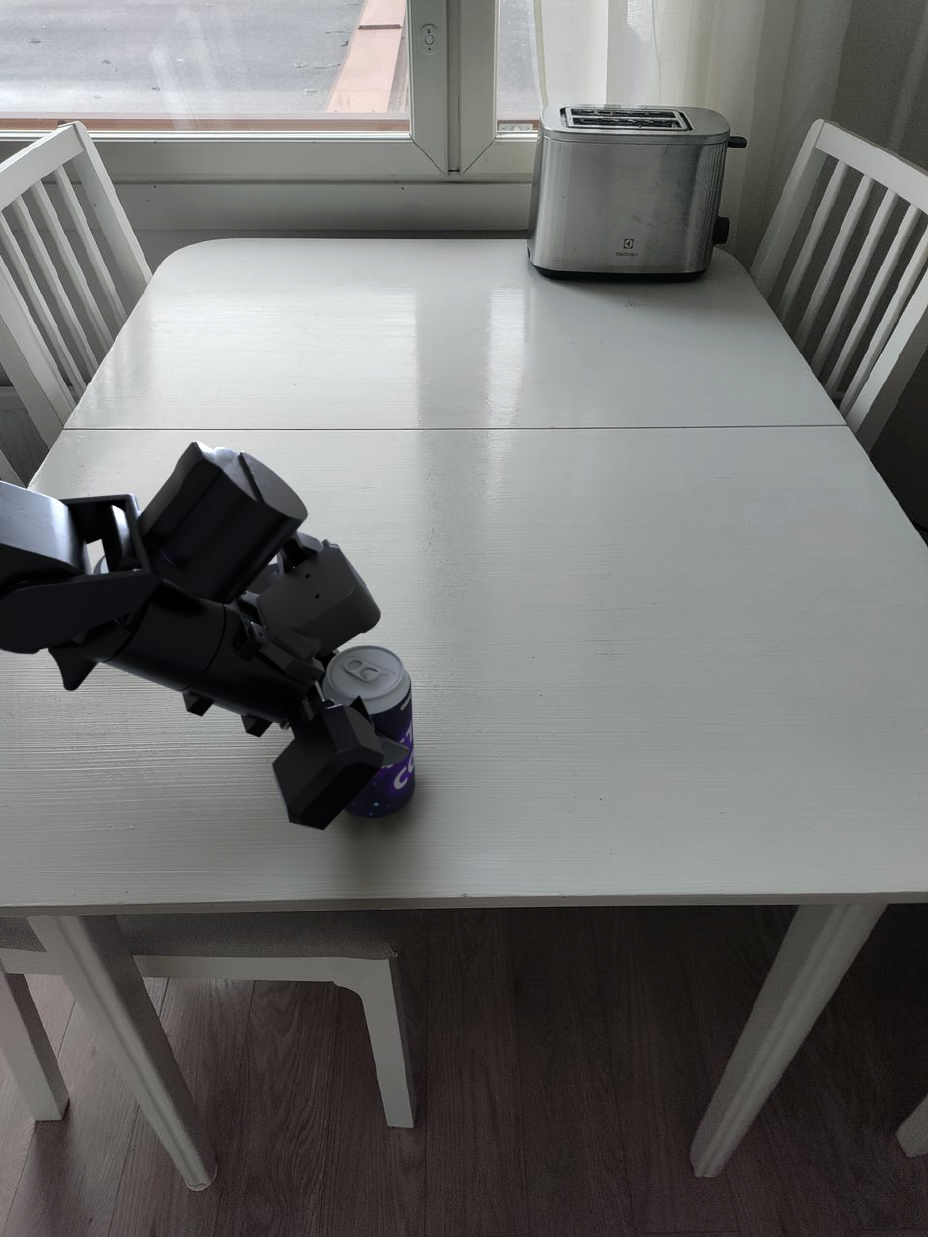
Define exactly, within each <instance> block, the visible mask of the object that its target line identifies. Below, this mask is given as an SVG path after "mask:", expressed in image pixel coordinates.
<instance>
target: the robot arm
mask: <svg viewBox="0 0 928 1237" xmlns="http://www.w3.org/2000/svg"><path fill="white" fill-rule="evenodd" d="M308 516H309V512H308V509H307V506H306V505H305V502H303V500H302V499H301V497H300V496H299V495H298V494H297V492H295V491H294V489H293V488H292V487H291V486H290V485H289V484H288V483H287V482H286V481H285V480H284V479H283V478H282V477H280V476H279V475H278V474H277V473H276V472H275V471H274V470H272V468H270V467H268V466H267V465H266V464H264V463H263V462H261V461H260V460H259V459H257V458H256V457H254V456H253V455H251V454H249V453H247V452H246V451H245V450H241V451H239V452H238V451H235V450H233V449H231V448H227V447H223V446H217V447H216V448H215V449H212V448H210V447H208V446H207V445H205V444H203V443H202V442H200V441H198V440H196V441H195V440H194V441H191V442H190V443H189V445H188V446H187V447H186V449H185V450H184V451H183V452H182V454H181V455H180V457H179V458H178V460H177V462H176V464H175V466H174V469H173V470H172V473H171V474H170V476H169V477H168V479H166V481H165V482H164V483H163V485H162V486H161V487H160V489H159V490H158V491H157V493H156V494H155V495H154V496H153V497H152V499H151V500H150V502H148V504H147V505H146V507H145V508H144V509H143V511H141V510H140V506H139V503H138V499H137V497H136V496H135V495H134V494H132V493H122V494H109V495H99V496H98V495H96V496H95V495H94V496H84V497H72V498H60V499H56V498H53V497H50V496H48V495H45V494H42V493H40V492H36V491H33V490H30V489H28V488H24V487H22V486H21V487H20V486H18V485H15V484H12V483H9V482H6V481H2V480H0V651H2V652H7V653H12V654H16V655H30V656H32V655H36V654H38V653H39V652H40V651H42V650H46V649H47V652H48V654H49V655H50V656H51V658H53V660H54V662H55V663H56V665H57V667H58V671H59V673H60V676H61V680H62V687H63V688H64V690H65V691H67V692H74V691H76V690H78V689H79V688H80V687H81V685H82V684H83V683H84V681H86V679H87V677H88V676H89V675H90V674H91V672H93V670H94V669H95V668H96V667H97V666H98V664H102V665H103V664H104V665H105V666H109V667H111V668H114V669H116V670H119V671H122V672H124V673H128V674H130V675H133V676H135V677H138V678H141V679H143V680H146V681H148V682H151V683H154V684H157V685H159V686H161V687H164V688H167V689H170V690H171V691H172V690H173V691H175V692H177V693H180V694H181V695H182V699H183V702H184V706H185V710H186V712H187V713H189V714H193V715H196V716H198V717H201V718H202V717H204V716H205V714H206V713H207V712H208V711H209V710H210V708H211V707H212V706H215V707H218V708H220V709H224V710H226V711H228V712H231V713H234V714H236V715H239V716H240V719H241V722H242V725H243V727H244V728H243V729H244V731H245V733H246V734H248V735H250V736H253V737H256V738H261V737H262V736H263V735H264V734H265V733H266V731H267V730H268V729H269V728H270V727H271V726H272V724H273V723H274V724H277V725H278V726H279V729H280V730H282V731H284V732H285V731H288V730H289V729H291V732H292V735H293V737H294V738H293V739H292V740H291V741H290V742H289V744H288V745H287V746H285V748H284V749H283V750H282V751H281V753H279V755H278V756H277V757H276V758H275V759H274V760H273V761H272V762H271V768H272V773H273V779H274V782H275V784H276V787H277V790H278V794H279V796H280V799H281V802H282V804H283V808H284V810H285V813H286V817H287V819H288V823H290V824H295V825H298V826H301V827H304V828H306V829H307V828H308V829H310V830H311V829H312V830H315V831H325V830H326V829H327V828H328V826H329V825H330V824H332V822H333V821H334V820H335V819H336V818H337V817H338V816H339V815H340V814H341V813H342V812H343V810H344V808H345V807H346V806H347V805H348V804H349V803H350V802H351V801H352V800H353V799H354V798H355V797H356V796H357V794H358V793H359V792H360V791H361V790H362V789H363V788H364V787H365V786H366V785H367V784H368V783H369V782H370V781H371V780H372V778H373V777H374V776H375V775H376V774H377V773H378V772H379V771H380V770H381V769H382V766H387V765H391V764H396V763H400V762H401V761H403V760H404V758H405V757H406V756H407V755H408V754H409V753H410V750H409V748H408V747H407V746H406V745H404V744H403V743H401V742H400V741H399V740H397V739H396V738H394V737H392V736H391V735H389V734H387V733H386V732H384V731H382V730H381V729H379V728H377V727H376V726H374V724H373V721H372V719H371V717H370V715H369V713H368V711H367V709H366V707H365V704H364V702H363V700H362V698H361V696H360V695H358V696H357V698H356V699H355V700H354V701H353V702H352V703H351V704H350V705H349V706H346V705H343V704H340V705H339V704H338V703H337V702H336V701H334V700H332V699H327V700H325V697H324V695H323V693H322V691H321V687H322V682H323V679H324V677H325V675H326V669H327V667H328V664H329V663H330V661H331V660H332V659H333V658H334V657H335V656H336V655H337V654H338V653H340V652H341V651H340V650H339V648H340V647H341V646H343V645H345V644H346V643H348V642H349V641H351V640H352V639H354V638H355V637H357V636H359V635H361V634H366V633H368V632H370V631H371V630H372V629H374V628H375V627H376V626H377V625H378V623H379V622H380V620H381V617H382V612H381V609H380V607H379V605H378V604H377V602H376V601H375V598H374V597H373V596H372V593H371V592H370V589H369V588H368V586H367V584H366V582H365V581H364V579H363V578H362V576H361V575H360V573H359V572H358V571H357V570H356V568H355V567H354V565H353V564H352V562H351V561H350V560H349V559H348V557H347V556H346V555H345V553H344V552H343V551H342V549H341V547H340V546H339V544H338V543H335V542H330V541H329V539H328V538H325V539H323V540H322V541H320V540H319V538H317V537H314V536H312V535H309V534H307V533H304V532H302V531H299V528H300V527H301V526H302V525H303V523H304V522H306V520H307V519H308ZM97 541H101V544H102V550H103V555H105V559H106V563H107V568H108V573H100V574H93V571H92V566H91V559H90V555H89V551H88V545H89V544H93V543H95V542H97ZM275 557H276V561H275V562H272V560H273V559H274V558H275ZM271 562H272V563H271Z"/></svg>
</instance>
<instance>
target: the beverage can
mask: <svg viewBox="0 0 928 1237" xmlns="http://www.w3.org/2000/svg"><path fill="white" fill-rule="evenodd" d="M402 660H403V659H401V657H400V656H399V654H397V653H396V652H394V651H393V650H391V649H389V648H387V647H385V646H380V645H373V644H360V645H355V646H352V647H351V646H350V647H348V648H346V649H344V650H342V651H340V653H338V654H337V655H336V656H335V657H334V658H333V659H332V660H331V661H330V663H329V664H328V667H327V669H326V675H325V677H324V679H323V682H322V687H321V691H322V693H323V695H324V697H325V700H327V699H332V700H334V701H336V702H337V703H338V704H339V705H340V704H343V705H346V706H349V705H350V704H351V703H352V702H353V701H354V700H355V699H356V698H357V696H358V695H360V696H361V698H362V700H363V702H364V704H365V707H366V709H367V711H368V713H369V715H370V717H371V719H372V721H373V724H374V726H376V727H377V728H379V729H381V730H382V731H384V732H386V733H387V734H389V735H391V736H392V737H394V738H396V739H397V740H399V741H400V742H401V743H403V744H404V745H406V746H407V747H408V748H409V750H410V753H409V754H408V755H407V756H406V757H405V758H404V760H403V761H401V762H400V763H396V764H391V765H387V766H382V769H381V770H380V771H379V772H378V773H377V774H376V775H375V776H374V777H373V778H372V780H371V781H370V782H369V783H368V784H367V785H366V786H365V787H364V788H363V789H362V790H361V791H360V792H359V793H358V794H357V796H356V797H355V798H354V799H353V800H352V801H351V802H350V803H349V804H348V805H347V806H346V807H345V808H344V809H343V810H344V811H345V812H347V813H348V814H350V815H353V816H355V817H359V818H362V819H381V818H386V817H389V816H391V815H394V814H397V813H398V812H399V811H401V810H402V809H404V808H405V807H406V806H407V805H408V804H409V803H410V802H411V800H412V798H413V796H414V794H415V791H416V769H415V768H416V767H415V744H414V721H413V697H412V696H413V695H412V692H413V691H412V679H411V676H410V674H409V672H408V671H407V669H406V668H405V665H404V662H403V661H402Z"/></svg>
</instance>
